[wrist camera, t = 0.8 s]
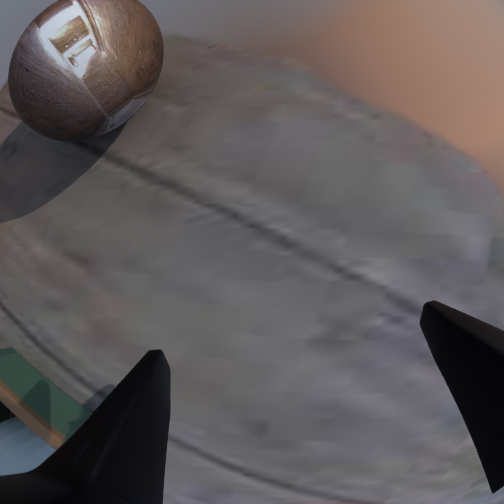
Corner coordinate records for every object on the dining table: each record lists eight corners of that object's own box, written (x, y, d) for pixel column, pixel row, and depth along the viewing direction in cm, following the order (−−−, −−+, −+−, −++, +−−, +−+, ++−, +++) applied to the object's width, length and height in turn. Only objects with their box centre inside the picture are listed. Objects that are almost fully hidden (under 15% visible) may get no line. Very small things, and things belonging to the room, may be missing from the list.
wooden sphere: (112, 191, 25) (11, 108, 10) (39, 136, 27) (-36, 71, 12) (207, 79, 27) (183, -39, 12) (118, 47, 28) (77, -36, 14)
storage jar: (68, 459, 21) (0, 511, 8) (39, 466, 21) (-23, 508, 8) (35, 406, 22) (-46, 440, 9) (9, 419, 22) (-61, 447, 9)
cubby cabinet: (98, 414, 22) (38, 454, 12) (73, 513, 20) (37, 551, 10) (12, 345, 23) (-53, 354, 13) (1, 455, 21) (-42, 477, 11)
